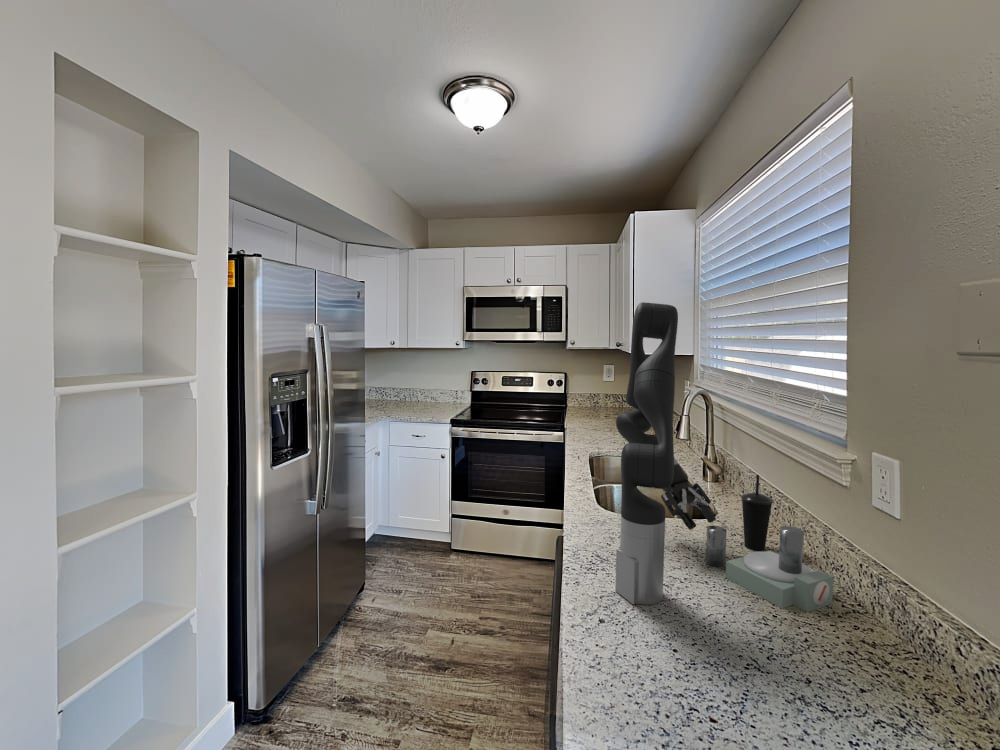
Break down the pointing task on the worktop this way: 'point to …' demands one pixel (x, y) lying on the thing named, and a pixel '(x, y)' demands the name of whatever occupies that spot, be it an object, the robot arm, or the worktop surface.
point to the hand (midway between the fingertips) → (703, 524)
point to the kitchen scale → (781, 581)
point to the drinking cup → (756, 518)
